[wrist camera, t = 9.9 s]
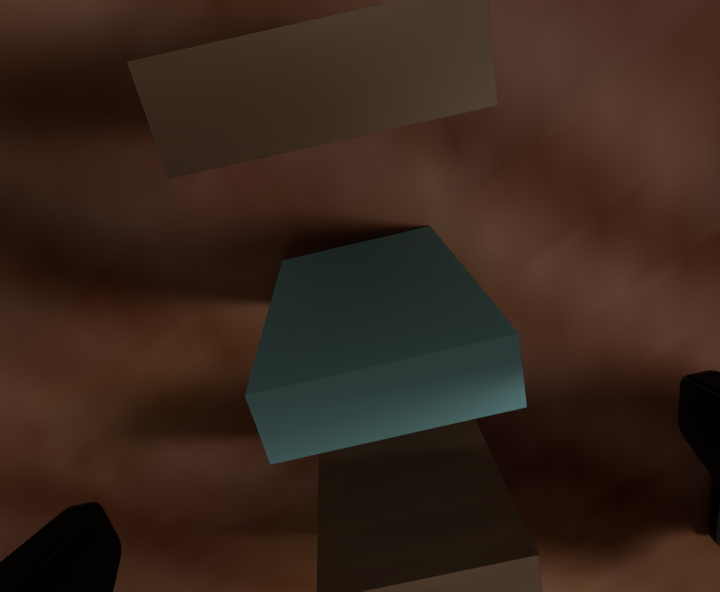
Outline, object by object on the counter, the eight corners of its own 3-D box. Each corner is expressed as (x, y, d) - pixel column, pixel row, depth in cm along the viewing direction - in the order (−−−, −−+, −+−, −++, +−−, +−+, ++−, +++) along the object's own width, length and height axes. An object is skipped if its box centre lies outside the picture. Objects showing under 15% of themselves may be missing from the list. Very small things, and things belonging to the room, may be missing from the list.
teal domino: (437, 270, 17) (526, 407, 9) (295, 303, 17) (270, 464, 9) (430, 225, 16) (518, 333, 9) (282, 260, 16) (244, 395, 9)
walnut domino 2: (457, 404, 19) (543, 603, 11) (329, 431, 19) (332, 647, 11) (451, 369, 18) (538, 555, 11) (320, 397, 18) (316, 600, 11)
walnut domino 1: (410, 103, 15) (498, 104, 7) (247, 139, 15) (167, 178, 7) (401, 44, 14) (485, -19, 7) (231, 82, 14) (127, 62, 7)
